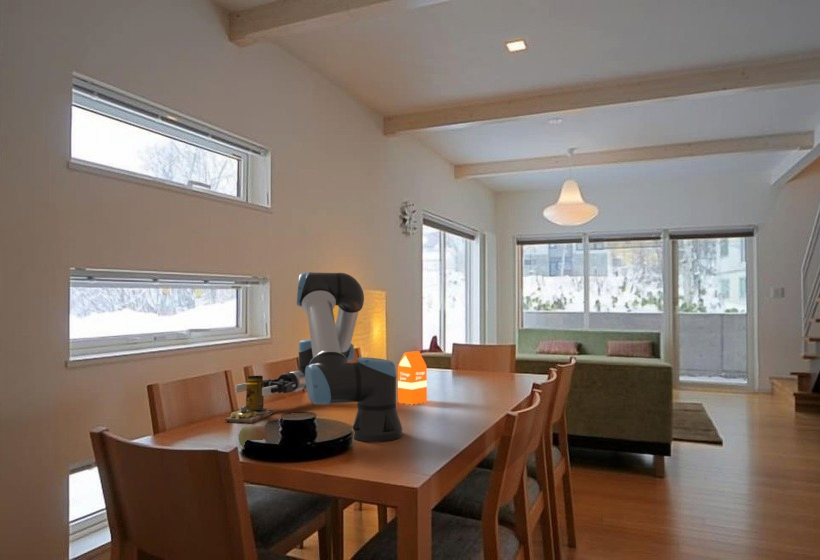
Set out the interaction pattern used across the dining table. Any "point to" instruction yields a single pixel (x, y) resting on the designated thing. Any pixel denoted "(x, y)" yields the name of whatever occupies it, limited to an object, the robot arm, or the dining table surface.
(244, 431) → the fruit
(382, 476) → the dining table surface
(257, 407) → the condiment
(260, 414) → the gear board
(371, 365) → the robot arm
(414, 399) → the orange juice
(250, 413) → the gear
